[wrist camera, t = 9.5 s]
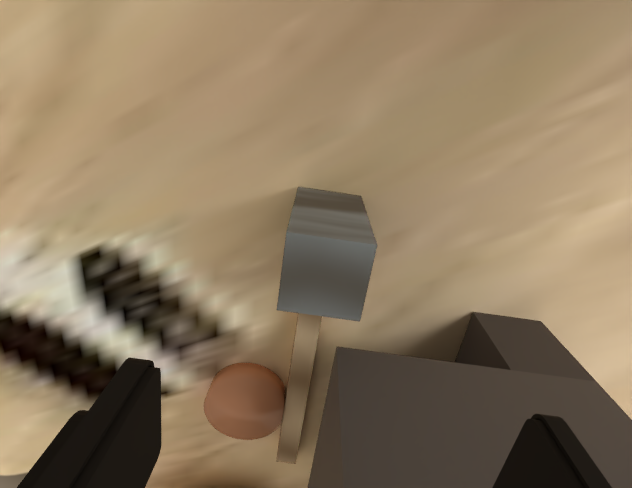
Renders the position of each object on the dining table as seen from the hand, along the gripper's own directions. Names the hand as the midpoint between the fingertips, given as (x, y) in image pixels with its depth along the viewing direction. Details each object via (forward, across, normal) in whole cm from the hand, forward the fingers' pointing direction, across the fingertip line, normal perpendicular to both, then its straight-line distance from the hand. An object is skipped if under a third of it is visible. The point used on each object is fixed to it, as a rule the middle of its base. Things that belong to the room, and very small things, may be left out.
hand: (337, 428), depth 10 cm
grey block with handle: (+16, 0, +10) cm, 19 cm away
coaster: (+16, +4, +16) cm, 23 cm away
